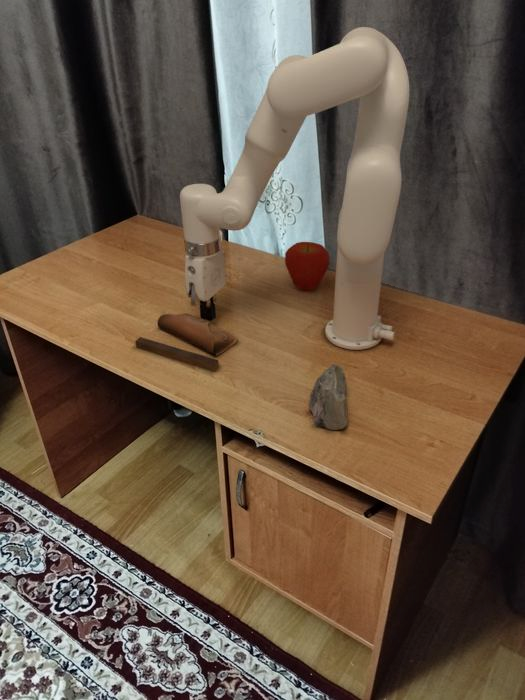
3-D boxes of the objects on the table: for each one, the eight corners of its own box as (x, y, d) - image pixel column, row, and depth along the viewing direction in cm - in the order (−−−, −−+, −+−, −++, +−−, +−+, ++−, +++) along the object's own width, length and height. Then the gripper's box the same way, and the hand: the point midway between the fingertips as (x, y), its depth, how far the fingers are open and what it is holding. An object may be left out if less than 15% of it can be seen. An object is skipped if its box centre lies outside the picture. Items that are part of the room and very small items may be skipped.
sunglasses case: (240, 338, 127) (228, 323, 122) (223, 364, 125) (210, 350, 120) (183, 312, 136) (170, 297, 131) (166, 336, 135) (152, 322, 129)
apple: (278, 282, 149) (278, 238, 142) (316, 274, 152) (317, 231, 145) (295, 302, 140) (296, 257, 133) (335, 293, 143) (337, 249, 136)
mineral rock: (329, 379, 115) (332, 338, 109) (376, 401, 110) (381, 359, 104) (289, 413, 107) (290, 370, 102) (337, 438, 102) (340, 395, 96)
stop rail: (219, 367, 120) (218, 360, 118) (214, 371, 118) (213, 364, 117) (141, 343, 127) (140, 336, 126) (136, 347, 126) (135, 340, 125)
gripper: (198, 262, 114) (204, 339, 125) (235, 234, 125) (238, 307, 136) (167, 255, 117) (176, 330, 128) (206, 228, 128) (211, 299, 139)
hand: (208, 318), depth 132 cm, fingers closed
